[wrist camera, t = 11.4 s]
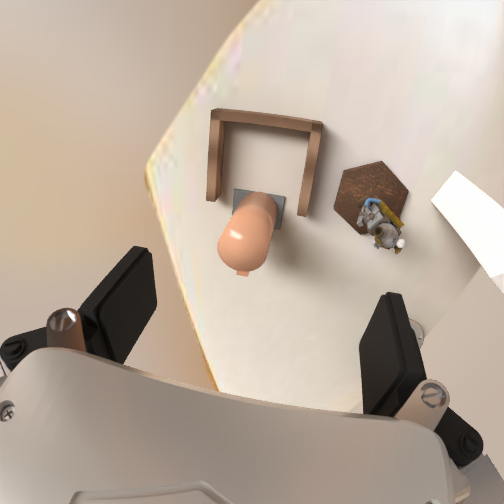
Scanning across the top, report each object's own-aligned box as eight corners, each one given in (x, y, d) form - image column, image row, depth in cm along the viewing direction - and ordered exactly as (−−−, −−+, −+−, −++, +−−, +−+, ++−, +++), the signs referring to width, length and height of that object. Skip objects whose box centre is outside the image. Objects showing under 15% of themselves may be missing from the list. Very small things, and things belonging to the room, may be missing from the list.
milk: (453, 224, 38) (522, 327, 20) (429, 199, 37) (502, 300, 19) (478, 195, 35) (562, 284, 16) (455, 168, 34) (547, 251, 16)
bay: (306, 208, 42) (306, 216, 39) (212, 193, 43) (206, 200, 41) (321, 121, 35) (322, 124, 33) (217, 108, 36) (211, 110, 34)
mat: (279, 228, 44) (279, 229, 44) (232, 220, 45) (231, 221, 44) (284, 196, 41) (284, 197, 41) (234, 188, 42) (234, 189, 42)
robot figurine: (317, 192, 40) (319, 232, 30) (366, 144, 36) (388, 169, 25) (371, 243, 42) (386, 294, 32) (417, 201, 38) (448, 243, 28)
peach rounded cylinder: (280, 195, 41) (269, 232, 32) (273, 243, 45) (261, 289, 36) (240, 189, 42) (218, 224, 32) (236, 237, 46) (216, 281, 36)
